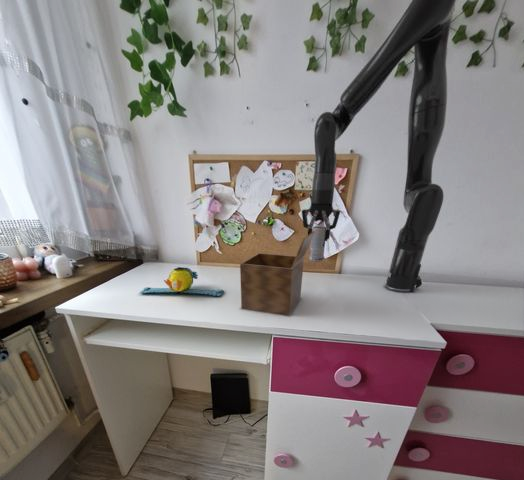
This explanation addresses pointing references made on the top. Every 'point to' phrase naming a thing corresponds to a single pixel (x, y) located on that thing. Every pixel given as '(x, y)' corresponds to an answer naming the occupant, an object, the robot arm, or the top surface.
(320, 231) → the energy drink
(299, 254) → the flap
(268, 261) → the brown wooden open box
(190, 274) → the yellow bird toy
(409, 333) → the top surface
